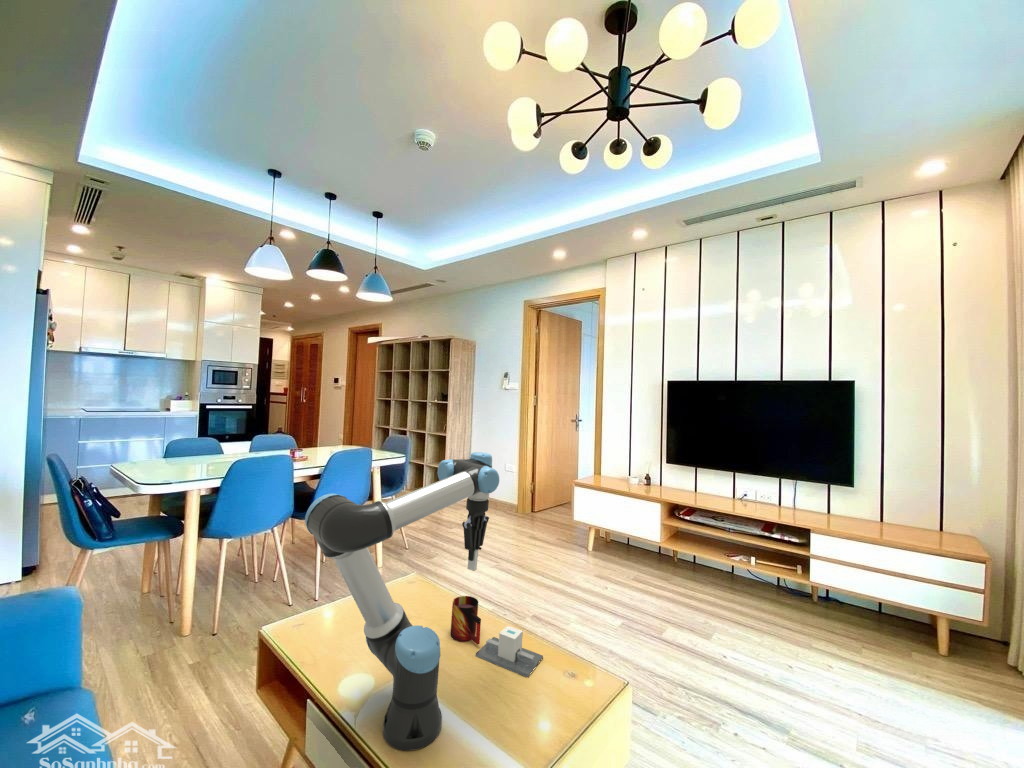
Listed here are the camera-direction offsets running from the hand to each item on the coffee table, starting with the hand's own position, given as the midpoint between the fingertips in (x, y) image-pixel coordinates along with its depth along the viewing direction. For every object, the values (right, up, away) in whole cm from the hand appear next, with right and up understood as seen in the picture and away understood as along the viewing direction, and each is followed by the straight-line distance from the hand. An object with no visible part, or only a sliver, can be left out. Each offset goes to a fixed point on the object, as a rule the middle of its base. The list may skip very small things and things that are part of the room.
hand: (471, 569), depth 138 cm
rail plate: (+13, -32, +3) cm, 34 cm away
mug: (-3, -32, +14) cm, 35 cm away
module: (+13, -31, +3) cm, 33 cm away
